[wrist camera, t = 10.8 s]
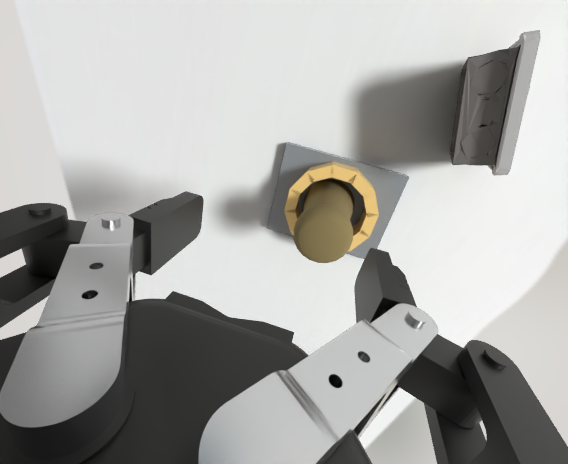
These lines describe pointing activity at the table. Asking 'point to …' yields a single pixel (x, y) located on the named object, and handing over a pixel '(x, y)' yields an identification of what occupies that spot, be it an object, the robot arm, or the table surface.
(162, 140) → the table surface
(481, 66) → the electrical switch
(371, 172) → the collar plate
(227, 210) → the table surface
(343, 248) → the cork
